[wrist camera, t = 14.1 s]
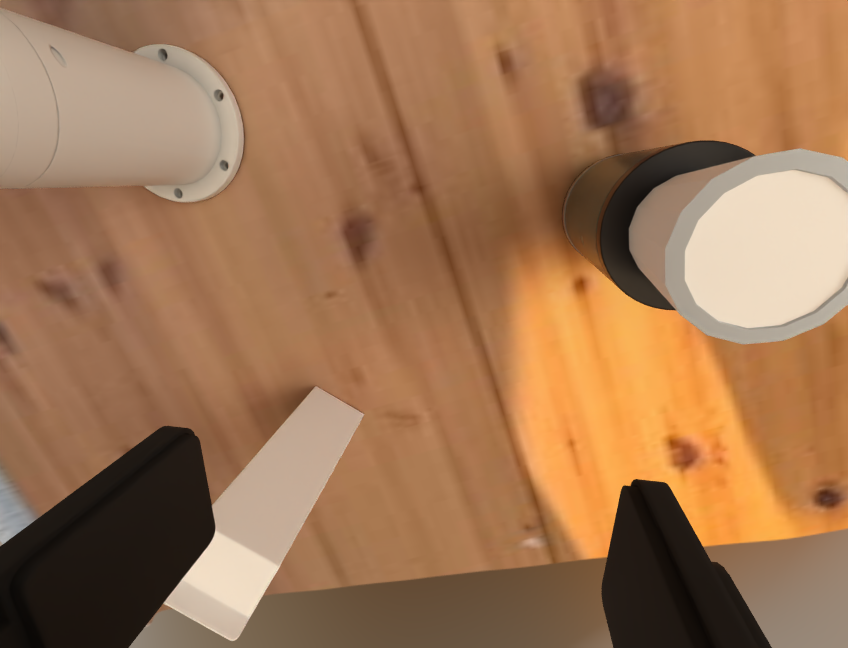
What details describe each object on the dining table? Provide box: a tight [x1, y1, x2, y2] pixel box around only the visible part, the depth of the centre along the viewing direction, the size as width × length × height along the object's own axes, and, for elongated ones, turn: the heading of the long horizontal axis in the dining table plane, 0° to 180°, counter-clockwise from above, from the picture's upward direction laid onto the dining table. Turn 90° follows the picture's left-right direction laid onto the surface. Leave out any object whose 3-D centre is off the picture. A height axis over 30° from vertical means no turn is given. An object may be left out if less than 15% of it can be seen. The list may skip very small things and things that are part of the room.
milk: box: [164, 386, 364, 641], centre depth 35 cm, size 6×6×22 cm
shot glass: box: [629, 149, 848, 344], centre depth 18 cm, size 7×7×7 cm
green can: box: [562, 141, 755, 310], centre depth 28 cm, size 8×8×14 cm
